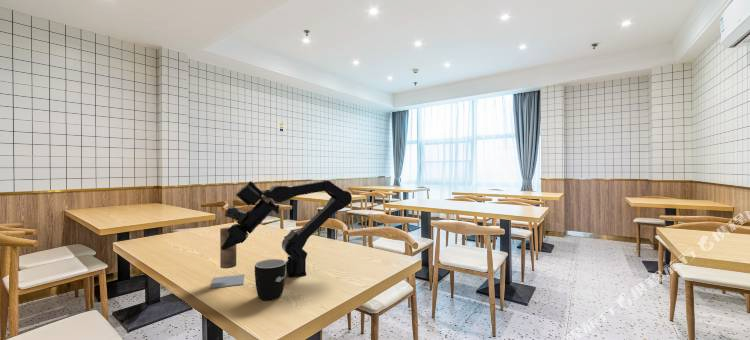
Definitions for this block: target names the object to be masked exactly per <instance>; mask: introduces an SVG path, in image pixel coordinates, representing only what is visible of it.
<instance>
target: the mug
mask: <svg viewBox="0 0 750 340" xmlns="http://www.w3.org/2000/svg"><path fill="white" fill-rule="evenodd" d="M254 280H255V282H254V283H255V288H256V294H257V297H258V299H259V300H261V301H265V302H269V301H275V300H277V299H280V298H281V296H282V295H283V291H284V288H285V282H286V281H285V280H286V260H284V259H279V258H277V259H276V258H273V259H272V258H270V259H264V260H261V261H258V262H256V263H255V264H254Z"/></svg>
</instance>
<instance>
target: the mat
mask: <svg viewBox="0 0 750 340" xmlns="http://www.w3.org/2000/svg"><path fill="white" fill-rule="evenodd" d="M244 279H245V274H235V275H228V276H227V275H226V276H217V277H213V279H212V281H211V283H210V286H209V289H218V288H227V287H234V286H235V287H236V286H242V285H243V286H244V282H245V281H244Z"/></svg>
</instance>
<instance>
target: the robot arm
mask: <svg viewBox="0 0 750 340" xmlns="http://www.w3.org/2000/svg"><path fill="white" fill-rule="evenodd" d="M319 192H325V193H326V194H327V195H328V196H329V197H330V198H329V200H328V202H327V203H326V205H325V206H324V207H323V208H322V209H321V210H320V211H318V212H317V213H316V214H315V215H314V216H313V217H312V218H311V219H309V221H308V222H306V223H305V224H304V225H303V226H302V227H301V228H300V229H299V230H297V231H295V230H293V229H291V230H290V231H289V232H288V234H287V235H285V236H283V240H282V241H281V249H282V250H283V251H284V252H285V253H286V254H287V260H285V262H286V273H285V275H287V277H288V278H293V277H301V276H303V277H304V276H307V272H306V269H307V268H306V265H307V264H306V260H307V258H308V252H306V251H305V250H304V247H305V245H306V243H307V242H308V240H309V238H310V237H311V236H312V235H313V234H314V233H315V232H316V231H317V230H319V228H320V227H321V226H322V225H324V224H325V223H326V221H328V220H329V219H330V218H331V217H332V216H333V215H334V214H335V213H337V212H339V211H341V210H343V209H345V208H346V207H347V206H349V205H350V204H351V203H352V199H353V198H352V197H353V196H352V193H350V192H349V191H347V190H343V189H342V188H340V187H339V186H337V185H336V184H334V183H333V182H332V181H330V180H328V179H327V180H326V179H324V180H321V181H315V182H309V183H304V184H298V185H273V186H271V187H270V188H269V189H266V190H264V189H263V190H261V189H260V188H259V187H257V186H256V184H255V183H254V182H253V181H251V180H250V181H249V182H247V183H246V184H245V185H243V186H242V187H241V188H240V189H239V190H238V191H237V192H236V193H235V196H236V197H237V198H238V199H239V200H240V201H242V202H243V203H244V204H245V205H246V206H250V205H251V206H252V208H251V209H249V210H247V211H245V210H243V209H241V208H238V207H235V206H232V205H231V206H229V207H228V208H227V210H226V211H225V214H224V217H226V218H230V219H231V220H232V219H233V220H235V221H236V223H234V224H232V225H231V226H229V227H230V228H229V229H228V230H227V231H228V232H229V237H228V238H227V240H226V241H225V243H224V244H223V246H222V247H221V249H222V250H225V249H227V248H230V247H232V246H234V245H236V246H237V245H238V244H243V243H244V242H245V241H246V240H247V239H248V237H249V235H250V234H252V233H253V232H254V231H255V229H256V228H257V227H258V226H260V225H261V223H262V222H264V221H265V220H266V218H267V217H269V215H270V214H271V213H272V212H275V213H276V215H278V214H280V210H279V209H280V205H279V204H276V203H283V202H285V201H287V200H288V201H289V200H291V199H293V198H295V197H299V196H304V195H309V194H314V193H319ZM265 198H266V199H265ZM267 199H268V200H267ZM274 202H275V203H274Z"/></svg>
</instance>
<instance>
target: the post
mask: <svg viewBox="0 0 750 340" xmlns="http://www.w3.org/2000/svg"><path fill="white" fill-rule="evenodd" d="M230 227H231V226H229V227H222V228H219V229H220V231H219V233H220V235H219V238H220V239H219V240H220V241H219V242H220V244H219V247H220V248H219V249H220V250H219V251H220V256H219V257H220V259H219V261H220V263H219V264H220V266H219V267H220V269H232V268H235V267H237V244H236V245H234V246H232V247H230V248H227V249H225V250H222V249H221V247H222V246H223V244H224V243H225V241H226V240H227V238H228V237H229V232H228V231H227V230H228V229H229V228H230Z"/></svg>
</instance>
